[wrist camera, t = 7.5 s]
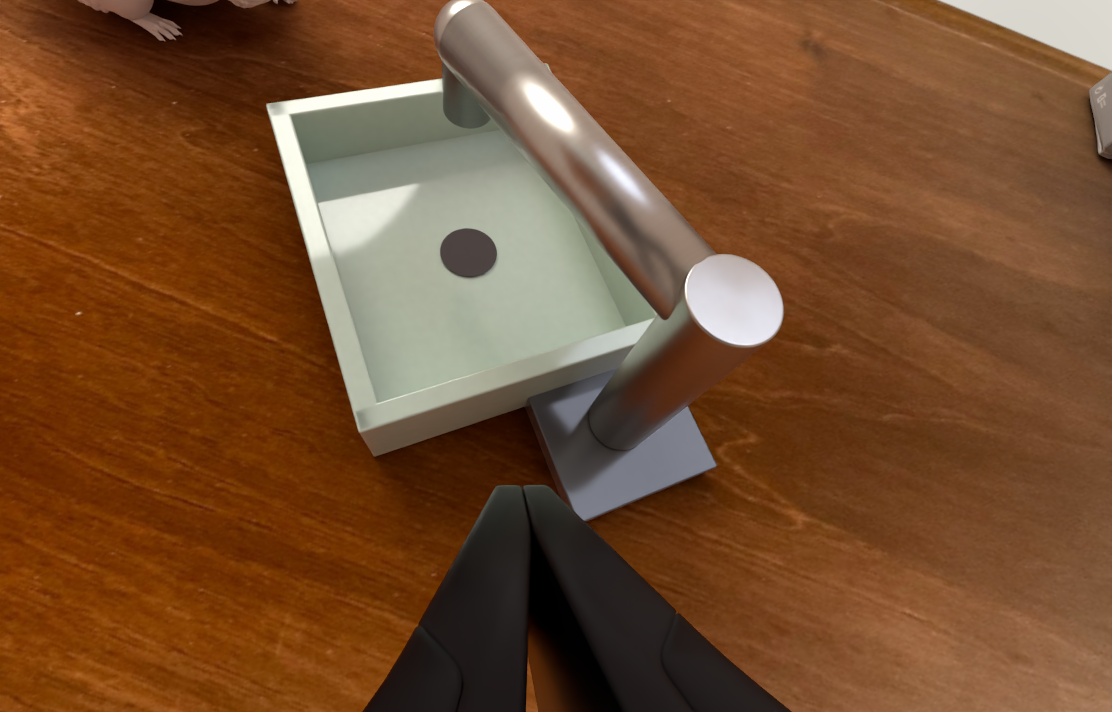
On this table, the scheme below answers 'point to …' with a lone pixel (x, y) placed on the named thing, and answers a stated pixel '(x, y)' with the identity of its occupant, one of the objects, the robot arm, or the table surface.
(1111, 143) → the cosmetic box
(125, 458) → the table surface
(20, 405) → the table surface
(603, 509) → the sink
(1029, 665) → the table surface
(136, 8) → the figurine
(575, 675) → the robot arm
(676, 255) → the faucet
